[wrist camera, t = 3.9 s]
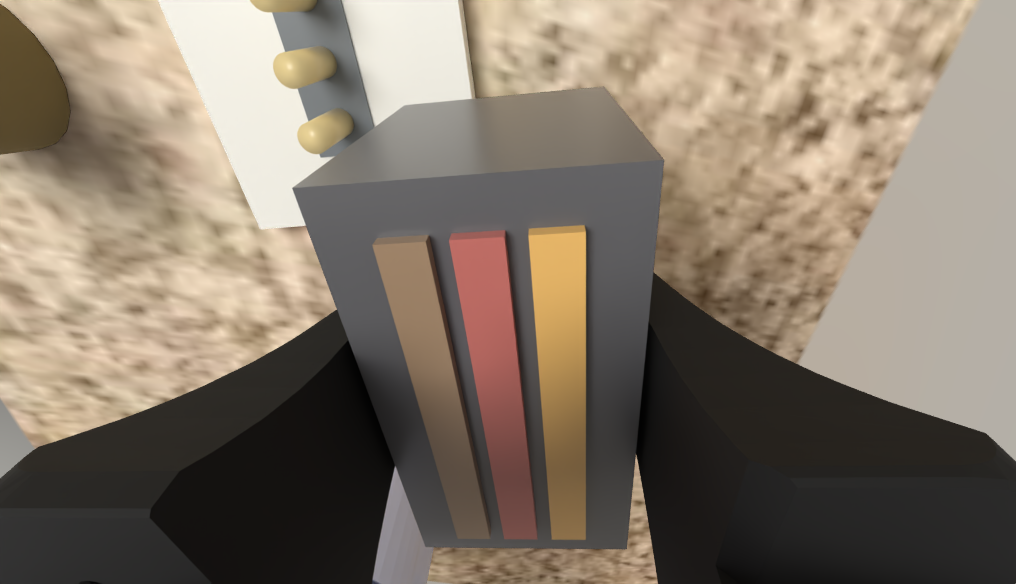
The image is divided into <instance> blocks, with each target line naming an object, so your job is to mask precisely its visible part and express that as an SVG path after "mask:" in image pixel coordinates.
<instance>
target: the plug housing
mask: <svg viewBox="0 0 1016 584" xmlns="http://www.w3.org/2000/svg"><path fill="white" fill-rule="evenodd" d="M663 166H664V159H663V158H662V157H661V155H660V154H659V153H658V152H657V151H656V149H655V148H654V147H653V146H652V144H651V143H650V142H649V141H648V140H647V138H646V137H645V136H644V135H643V133H642V132H641V131H640V130H639V129H638V127H637V126H636V125H635V124H634V122H633V121H632V120H631V119H630V118H629V116H628V115H627V114H626V113H625V112H624V110H623V109H622V108H621V107H620V105H619V104H618V103H617V102H616V101H615V99H614V98H613V97H612V96H611V94H610V93H609V92H608V91H607V90H606V88H605V87H594V88H583V89H572V90H562V91H551V92H540V93H529V94H519V95H508V96H497V97H487V98H476V99H465V100H454V101H444V102H433V103H422V104H412V105H404V106H403V107H401V108H400V109H399V110H397V111H396V112H395V113H393V114H392V115H391V116H389V117H388V118H387V119H385V120H384V121H382V122H381V123H380V124H378V125H377V126H376V127H374V128H373V129H372V130H370V131H369V132H368V133H366V134H365V135H363V136H362V137H361V138H359V139H358V140H357V141H355V142H354V143H353V144H351V145H350V146H348V147H347V148H346V149H344V150H343V151H342V152H340V153H339V154H338V155H336V156H335V157H334V158H332V159H331V160H329V161H328V162H327V163H325V164H324V165H323V166H321V167H320V168H319V169H317V170H316V171H315V172H313V173H312V174H310V175H309V176H308V177H306V178H305V179H304V180H302V181H301V182H300V183H298V184H297V185H295V186H294V187H293V188H292V189H293V192H294V195H295V197H296V200H297V203H298V206H299V208H300V211H301V214H302V216H303V219H304V222H305V224H306V227H307V230H308V232H309V235H310V238H311V240H312V243H313V246H314V249H315V251H316V254H317V257H318V259H319V262H320V265H321V267H322V270H323V273H324V275H325V278H326V281H327V284H328V286H329V289H330V292H331V294H332V297H333V300H334V302H335V305H336V308H337V310H338V313H339V316H340V319H341V321H342V324H343V327H344V329H345V332H346V335H347V337H348V340H349V343H350V345H351V348H352V351H353V353H354V356H355V359H356V362H357V364H358V367H359V370H360V372H361V375H362V378H363V380H364V383H365V386H366V388H367V391H368V394H369V397H370V399H371V402H372V405H373V407H374V410H375V413H376V415H377V418H378V421H379V423H380V426H381V429H382V431H383V434H384V437H385V440H386V442H387V445H388V448H389V450H390V453H391V456H392V458H393V461H394V464H395V466H396V469H397V472H398V475H399V477H400V480H401V483H402V485H403V488H404V491H405V493H406V496H407V499H408V501H409V504H410V507H411V509H412V512H413V515H414V518H415V520H416V523H417V526H418V528H419V531H420V534H421V536H422V539H423V542H424V544H425V547H457V548H553V549H627V540H628V530H629V519H630V509H631V499H632V488H633V478H634V467H635V457H636V447H637V436H638V426H639V415H640V405H641V395H642V384H643V374H644V363H645V353H646V343H647V332H648V322H649V311H650V301H651V291H652V280H653V270H654V259H655V249H656V239H657V228H658V218H659V207H660V197H661V187H662V176H663Z"/></svg>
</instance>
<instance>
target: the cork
mask: <svg viewBox="0 0 1016 584" xmlns="http://www.w3.org/2000/svg"><path fill="white" fill-rule="evenodd" d="M69 116H70V107H69V102H68V96H67V91H66V87H65V85H64V83H63V81H62V79H61V76H60V74H59V72H58V70H57V68H56V66H55V64H54V62H53V60H52V59H51V57H50V56H49V55H48V53H47V52H46V51H45V49H44V48H43V47H42V45H41V44H40V43H39V41H38V40H37V38H36V37H35V36H34V34H33V33H32V32H31V31H30V30H29V29H27V28H26V27H25V26H24V25H23V24H22V23H21V22H20V21H19V20H18V19H17V18H16V17H15V16H14V15H13V14H12V13H11V12H10V11H9V10H7V9H6V8H5V7H3V6H2V5H0V155H1V154H8V153H16V152H23V151H30V150H37V149H41V148H44V147H47V146H50V145H53V144H56V143H57V141H58V140H59V139H60V138H61V137H62V136H63V135H64V133H65V132H66V131H67V127H68V122H69Z"/></svg>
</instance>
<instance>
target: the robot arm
mask: <svg viewBox="0 0 1016 584" xmlns="http://www.w3.org/2000/svg"><path fill="white" fill-rule="evenodd" d="M636 455H637V459H638V464H639V470H640V476H641V482H642V487H643V493H644V499H645V504H646V510H647V516H648V523H649V529H650V535H651V541H652V547H653V553H654V560H655V566H656V573H657V579H658V584H1015V583H1016V461H1015V460H1014V459H1013V458H1012V457H1010V456H1009V455H1008V454H1007V453H1006V452H1005V451H1004V450H1003V449H1002V448H1001V447H1000V446H999V445H998V444H997V443H996V442H995V441H994V440H993V439H991V438H990V437H989V436H988V435H987V434H986V433H983V432H980V431H977V430H974V429H971V428H968V427H965V426H962V425H958V424H955V423H952V422H949V421H946V420H943V419H940V418H937V417H934V416H931V415H927V414H925V413H922V412H918V411H915V410H912V409H909V408H906V407H903V406H900V405H897V404H894V403H891V402H888V401H886V400H883V399H880V398H877V397H875V396H872V395H870V394H867V393H865V392H862V391H859V390H857V389H854V388H851V387H849V386H846V385H844V384H841V383H839V382H836V381H834V380H831V379H829V378H827V377H824V376H822V375H820V374H817V373H815V372H813V371H811V370H808V369H806V368H804V367H802V366H800V365H798V364H796V363H793V362H791V361H789V360H787V359H785V358H783V357H781V356H779V355H777V354H775V353H773V352H771V351H769V350H767V349H765V348H763V347H761V346H759V345H757V344H756V343H754V342H752V341H750V340H749V339H747V338H745V337H743V336H742V335H740V334H738V333H736V332H735V331H733V330H731V329H729V328H728V327H726V326H725V325H723V324H721V323H720V322H718V321H717V320H715V319H714V318H712V317H711V316H710V315H708V314H707V313H705V312H704V311H702V310H701V309H699V308H698V307H696V306H695V305H694V304H692V303H691V302H690V301H688V300H687V299H686V298H684V297H683V296H682V295H680V294H679V293H678V292H677V291H675V290H674V289H673V288H672V287H670V286H669V285H668V284H667V283H666V282H664V281H663V280H662V279H661V278H660V277H658V276H657V275H656V274H655V273H654V272H653V280H652V291H651V301H650V311H649V322H648V332H647V343H646V353H645V363H644V374H643V384H642V395H641V405H640V415H639V426H638V436H637V447H636ZM433 548H434V547H425V544H424V542H423V539H422V536H421V534H420V531H419V528H418V526H417V523H416V520H415V518H414V515H413V512H412V509H411V507H410V504H409V501H408V499H407V496H406V493H405V491H404V488H403V485H402V483H401V480H400V477H399V475H398V472H397V469H396V466H395V464H394V461H393V458H392V456H391V453H390V450H389V448H388V445H387V442H386V440H385V437H384V434H383V431H382V429H381V426H380V423H379V421H378V418H377V415H376V413H375V410H374V407H373V405H372V402H371V399H370V397H369V394H368V391H367V388H366V386H365V383H364V380H363V378H362V375H361V372H360V370H359V367H358V364H357V362H356V359H355V356H354V353H353V351H352V348H351V345H350V343H349V340H348V337H347V335H346V332H345V329H344V327H343V324H342V321H341V319H340V316H339V313H338V310H335V311H334V312H333V313H331V314H330V315H328V316H327V317H325V318H324V319H322V320H321V321H319V322H318V323H316V324H315V325H313V326H312V327H311V328H309V329H308V330H306V331H305V332H303V333H302V334H300V335H299V336H297V337H295V338H294V339H292V340H291V341H289V342H287V343H286V344H284V345H282V346H281V347H279V348H277V349H275V350H273V351H272V352H270V353H268V354H266V355H265V356H263V357H261V358H259V359H257V360H256V361H254V362H252V363H250V364H248V365H246V366H244V367H242V368H240V369H238V370H236V371H234V372H231V373H229V374H227V375H225V376H223V377H221V378H219V379H217V380H215V381H213V382H211V383H209V384H207V385H205V386H202V387H200V388H198V389H196V390H193V391H191V392H189V393H186V394H184V395H182V396H179V397H177V398H175V399H172V400H170V401H167V402H165V403H162V404H160V405H157V406H155V407H152V408H150V409H147V410H144V411H142V412H139V413H137V414H134V415H131V416H129V417H126V418H123V419H121V420H118V421H115V422H112V423H109V424H106V425H103V426H100V427H97V428H94V429H91V430H88V431H85V432H82V433H80V434H77V435H74V436H71V437H68V438H65V439H62V440H59V441H56V442H53V443H49V444H46V445H43V446H40V447H38V448H36V449H35V450H33V451H32V452H31V453H29V454H28V455H27V456H26V457H24V458H23V459H22V460H21V461H20V462H18V463H17V464H16V465H15V466H14V467H13V468H12V469H11V470H10V471H8V472H7V473H6V474H5V475H4V476H3V477H1V478H0V584H427V579H428V574H429V569H430V564H431V558H432V553H433Z"/></svg>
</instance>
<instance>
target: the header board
mask: <svg viewBox="0 0 1016 584" xmlns="http://www.w3.org/2000/svg"><path fill="white" fill-rule="evenodd" d="M158 2H159V4H160V6H161V9H162V11H163V13H164V15H165V18H166V20H167V22H168V24H169V27H170V29H171V31H172V33H173V35H174V38H175V40H176V42H177V44H178V47H179V49H180V51H181V53H182V56H183V58H184V60H185V62H186V65H187V67H188V69H189V71H190V73H191V76H192V78H193V80H194V82H195V85H196V87H197V89H198V91H199V94H200V96H201V98H202V100H203V103H204V105H205V107H206V109H207V111H208V114H209V116H210V118H211V120H212V123H213V125H214V127H215V129H216V132H217V134H218V136H219V138H220V140H221V143H222V145H223V147H224V149H225V152H226V154H227V156H228V158H229V161H230V163H231V165H232V167H233V170H234V172H235V174H236V176H237V178H238V181H239V183H240V185H241V187H242V190H243V192H244V194H245V196H246V199H247V201H248V203H249V205H250V208H251V210H252V212H253V214H254V216H255V219H256V221H257V223H258V225H259V228H260V229H270V228H283V227H296V226H306V224H305V222H304V219H303V216H302V214H301V211H300V208H299V206H298V203H297V200H296V197H295V195H294V192H293V189H292V188H293V187H294V186H295V185H297V184H298V183H300V182H301V181H302V180H304V179H305V178H306V177H308V176H309V175H310V174H312V173H313V172H315V171H316V170H317V169H319V168H320V167H321V166H323V165H324V164H325V163H327V162H328V161H329V160H331V159H332V158H334V157H335V156H336V155H338V154H339V153H340V152H342V151H343V150H344V149H346V148H347V147H348V146H350V145H351V144H353V143H354V142H355V141H357V140H358V139H359V138H361V137H362V136H363V135H365V134H366V133H368V132H369V131H370V130H372V129H373V128H374V127H376V126H377V125H378V124H380V123H381V122H382V121H384V120H385V119H387V118H388V117H389V116H391V115H392V114H393V113H395V112H396V111H397V110H399V109H400V108H401V107H403V106H404V105H412V104H422V103H433V102H444V101H454V100H465V99H476V98H475V90H474V83H473V75H472V68H471V61H470V53H469V46H468V38H467V31H466V24H465V16H464V9H463V2H462V0H158Z"/></svg>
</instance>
